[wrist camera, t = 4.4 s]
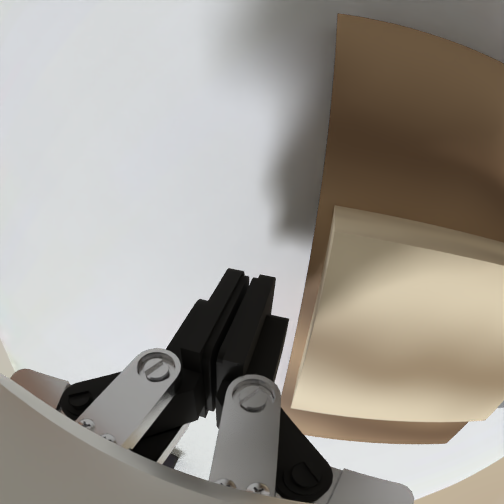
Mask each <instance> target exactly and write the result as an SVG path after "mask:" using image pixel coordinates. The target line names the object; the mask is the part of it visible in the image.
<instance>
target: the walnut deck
mask: <svg viewBox="0 0 504 504" xmlns="http://www.w3.org/2000/svg"><path fill="white" fill-rule="evenodd" d="M335 205H336V206H342V207H347V208H353V209H358V210H364V211H369V212H374V213H379V214H384V215H389V216H394V217H399V218H404V219H408V220H413V221H418V222H422V223H427V224H431V225H436V226H440V227H444V228H448V229H453V230H457V231H461V232H465V233H469V234H473V235H477V236H481V237H484V238H488V239H492V240H496V241H499V242H503V243H504V63H502V62H500V61H498V60H496V59H494V58H491V57H489V56H487V55H485V54H483V53H480V52H478V51H476V50H473V49H471V48H468V47H466V46H463V45H461V44H458V43H455V42H453V41H450V40H447V39H444V38H441V37H438V36H435V35H432V34H429V33H426V32H423V31H419V30H416V29H412V28H408V27H405V26H401V25H397V24H393V23H388V22H384V21H379V20H374V19H369V18H364V17H358V16H352V15H346V14H339V13H338V15H337V34H336V50H335V65H334V77H333V89H332V100H331V110H330V120H329V129H328V138H327V146H326V154H325V162H324V170H323V177H322V185H321V192H320V199H319V206H318V212H317V219H316V225H315V231H314V237H313V243H312V249H311V255H310V261H309V267H308V272H307V278H306V283H305V288H304V294H303V299H302V304H301V309H300V314H299V319H298V324H297V329H296V333H295V338H294V343H293V347H292V352H291V357H290V361H289V365H288V370H287V374H286V378H285V383H284V387H283V391H282V395H281V408H282V409H283V410H284V411H285V413H286V414H287V415H288V416H289V418H290V419H291V420H292V421H293V422H294V424H295V425H296V426H297V427H298V428H299V430H300V431H301V432H302V433H303V434H304V435H308V436H315V437H322V438H330V439H338V440H347V441H358V442H371V443H388V444H445V443H447V442H448V441H449V440H450V439H451V438H452V437H454V436H455V435H456V434H457V433H458V432H459V431H460V430H461V429H462V428H463V427H464V426H465V425H466V424H467V423H468V422H469V421H466V422H408V421H389V420H376V419H365V418H355V417H346V416H338V415H331V414H323V413H317V412H311V411H305V410H299V409H293V408H291V404H292V400H293V395H294V390H295V385H296V380H297V375H298V371H299V367H300V363H301V360H302V356H303V352H304V348H305V344H306V340H307V336H308V332H309V328H310V324H311V320H312V316H313V311H314V307H315V303H316V298H317V294H318V289H319V285H320V280H321V275H322V270H323V266H324V261H325V256H326V251H327V245H328V240H329V235H330V229H331V224H332V218H333V213H334V207H335Z"/></svg>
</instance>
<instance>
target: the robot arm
mask: <svg viewBox="0 0 504 504" xmlns="http://www.w3.org/2000/svg"><path fill="white" fill-rule="evenodd" d="M275 281H276V278H275V277H270V276H265V275H259V277H258V278H254V277H253V279H252V281H251V283H250V285H249V276H244V271H240V270H235V269H230V268H228V269H227V271H226V272H225V274H224V276H223V277H222V279H221V281H220V282H219V284H218V286H217V287H216V289H215V291H214V292H213V294H212V295H211V297H210V299H209V300H208V301H206V300H202V299H199V300H198V301H197V302H196V303H195V305H194V306H193V308H192V309H191V311H190V313H189V314H188V316H187V317H186V319H185V320H184V322H183V323H182V325H181V326H180V328H179V330H178V331H177V333H176V334H175V336H174V337H173V339H172V340H171V342H170V344H169V345H168V347H167V348H166V350H165V349H160V348H154V349H148V350H146V351H143V352H141V353H140V354H139V355H138V356H136V357H135V358H134V359H133V361H132V362H131V363H130V364H129V365H128V366H127V367H126V368H125V369H124V370H123V371H122V372H118V373H115V374H111V375H107V376H103V377H99V378H95V379H91V380H87V381H82V382H78V383H75V384H73V385H71V384H69V382H68V381H65V380H62V379H58V378H55V377H52V376H49V375H45V374H42V373H39V372H36V371H33V370H30V369H21V370H18V371H17V372H15V373H14V374H13V375H12V377H11V378H8V377H6V376H4V375H2V374H0V504H414V497H413V494H412V491H411V490H410V489H409V488H408V487H407V486H405V485H402V484H400V483H396V482H391V481H387V480H383V479H379V478H375V477H372V476H368V475H365V474H361V473H358V472H354V471H351V470H348V469H345V468H344V469H343V470H340V469H337V468H333V467H331V466H330V465H329V464H328V462H327V461H326V460H325V459H324V458H323V457H322V455H321V454H320V453H319V452H318V451H317V450H316V449H315V447H314V446H313V445H312V444H311V443H310V442H309V440H308V439H307V438H306V437H305V436H304V434H303V433H302V432H301V431H300V430H299V428H298V427H297V426H296V425H295V424H294V422H293V421H292V420H291V419H290V418H289V416H288V415H287V414H286V413H285V411H284V410H283V409H282V408H281V394H280V390H279V388H278V387H277V385H276V384H275V383H274V381H275V378H276V374H277V370H278V366H279V362H280V358H281V354H282V350H283V346H284V342H285V337H286V332H287V327H288V322H289V319H288V318H283V317H278V316H273V315H271V310H272V303H273V296H274V288H275ZM215 408H216V420H217V427H218V429H219V431H218V436H217V441H216V446H215V451H214V456H213V461H212V466H211V471H210V476H209V481H207V480H204V479H201V478H198V477H195V476H192V475H189V474H186V473H183V472H180V471H178V470H175V469H172V468H170V467H167V466H165V465H162V464H163V463H164V461H165V460H166V459H167V457H168V456H169V454H170V453H171V452H172V450H173V449H174V447H175V446H176V444H177V443H178V442H179V440H180V439H181V437H182V436H183V434H184V433H185V432H186V430H187V429H188V427H189V424H190V422H193V421H196V420H198V418H199V416H201V417H204V418H206V416H207V413H208V411H209V410H210V411H214V410H215Z"/></svg>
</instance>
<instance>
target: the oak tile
mask: <svg viewBox="0 0 504 504" xmlns="http://www.w3.org/2000/svg"><path fill="white" fill-rule="evenodd" d="M503 401H504V243H503V242H499V241H496V240H492V239H488V238H484V237H481V236H477V235H473V234H469V233H465V232H461V231H457V230H453V229H448V228H444V227H440V226H436V225H431V224H427V223H422V222H418V221H413V220H408V219H404V218H399V217H394V216H389V215H384V214H379V213H374V212H369V211H364V210H358V209H353V208H347V207H342V206H336V205H335V207H334V213H333V218H332V224H331V229H330V235H329V240H328V245H327V251H326V256H325V261H324V266H323V270H322V275H321V280H320V285H319V289H318V294H317V298H316V303H315V307H314V311H313V316H312V320H311V324H310V328H309V332H308V336H307V340H306V344H305V348H304V352H303V356H302V360H301V363H300V367H299V371H298V375H297V380H296V385H295V390H294V395H293V400H292V404H291V408H293V409H299V410H305V411H311V412H317V413H323V414H331V415H338V416H346V417H355V418H365V419H376V420H389V421H408V422H466V421H484V420H486V419H487V418H488V417H489V416H490V415H491V414H492V413H493V412H494V411H495V410H496V409H497V407H498V406H499V405H500V404H501V403H502V402H503Z"/></svg>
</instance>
